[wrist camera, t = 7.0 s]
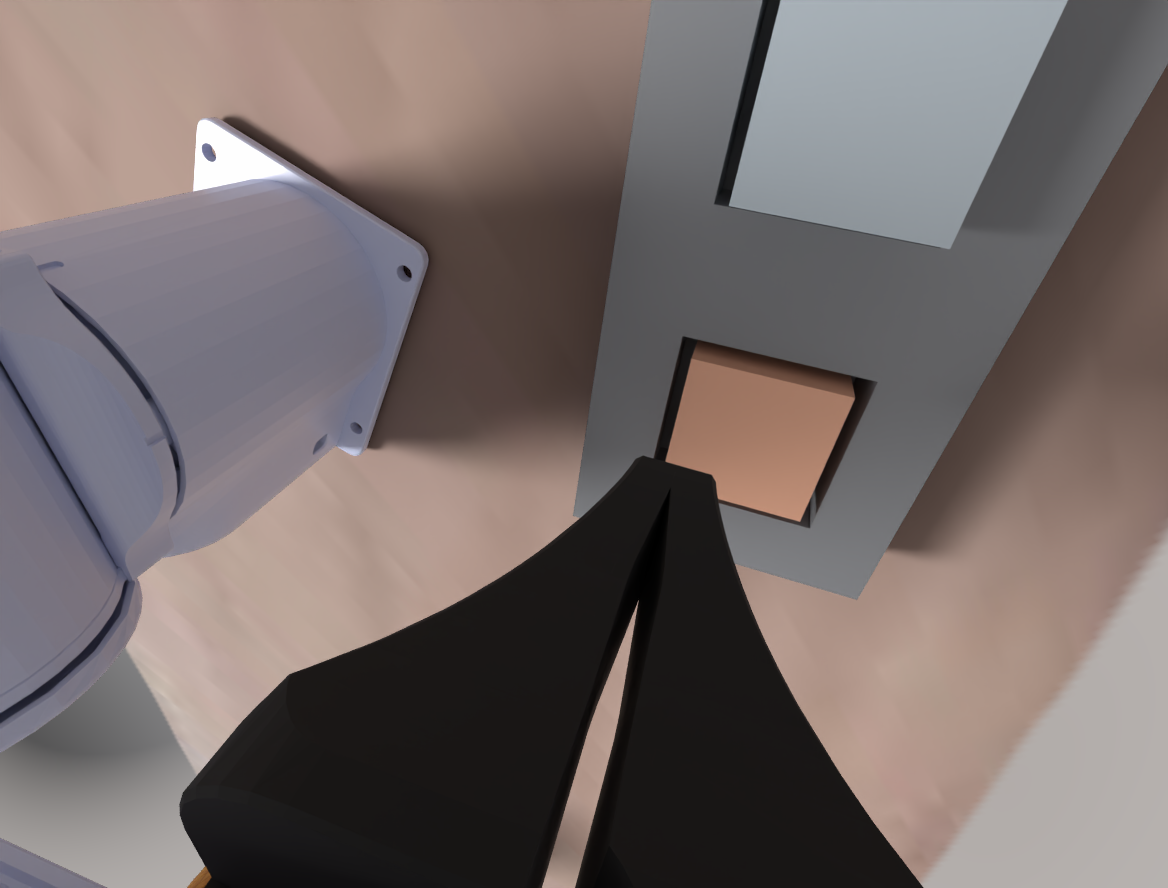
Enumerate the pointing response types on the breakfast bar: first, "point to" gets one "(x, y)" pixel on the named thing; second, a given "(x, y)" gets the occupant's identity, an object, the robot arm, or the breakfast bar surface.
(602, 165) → the breakfast bar surface
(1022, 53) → the slate key
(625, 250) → the key panel
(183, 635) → the breakfast bar surface
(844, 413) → the terracotta key
